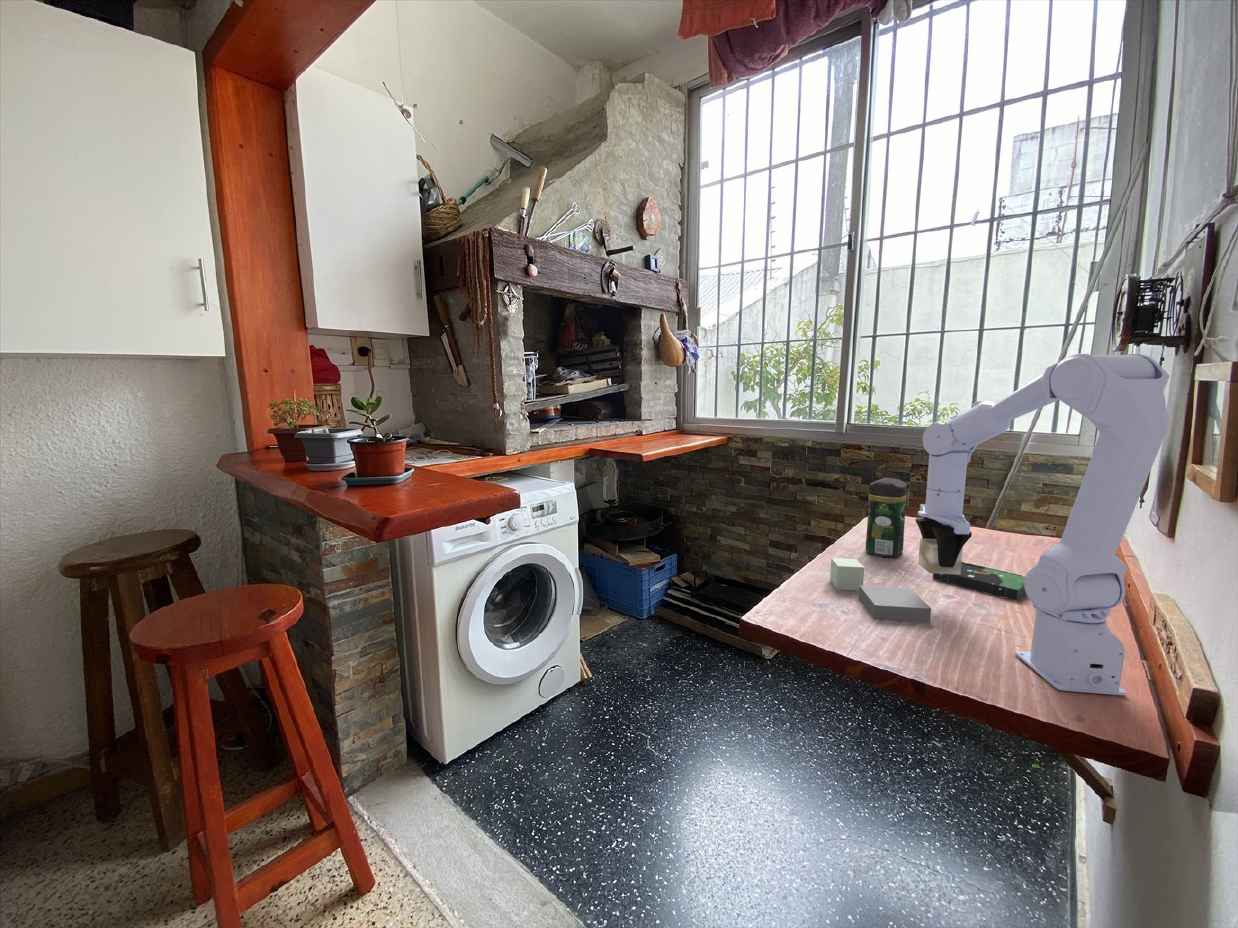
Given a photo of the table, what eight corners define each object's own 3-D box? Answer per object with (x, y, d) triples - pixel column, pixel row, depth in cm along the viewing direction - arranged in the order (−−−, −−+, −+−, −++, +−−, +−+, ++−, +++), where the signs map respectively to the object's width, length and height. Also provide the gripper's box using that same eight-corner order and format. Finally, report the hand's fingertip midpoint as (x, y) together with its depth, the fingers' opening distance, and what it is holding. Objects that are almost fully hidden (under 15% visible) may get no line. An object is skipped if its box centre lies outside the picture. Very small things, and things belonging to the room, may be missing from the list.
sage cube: (862, 591, 98) (864, 567, 97) (836, 589, 99) (837, 566, 98) (855, 581, 103) (856, 558, 102) (830, 580, 104) (831, 557, 103)
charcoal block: (929, 624, 84) (931, 608, 84) (873, 621, 86) (875, 605, 86) (909, 603, 93) (910, 588, 93) (858, 600, 95) (859, 585, 94)
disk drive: (931, 581, 104) (1018, 603, 92) (932, 569, 104) (1020, 589, 92) (949, 570, 110) (1033, 589, 99) (950, 558, 110) (1034, 576, 98)
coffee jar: (871, 544, 128) (876, 474, 125) (905, 550, 123) (911, 477, 120) (860, 553, 121) (865, 479, 118) (896, 560, 116) (902, 483, 113)
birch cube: (960, 574, 88) (962, 547, 87) (929, 573, 88) (932, 546, 88) (946, 565, 92) (949, 539, 92) (918, 563, 93) (920, 538, 93)
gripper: (905, 481, 96) (900, 548, 98) (939, 496, 82) (933, 574, 84) (944, 482, 95) (938, 549, 97) (986, 498, 81) (978, 576, 83)
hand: (939, 561), depth 90 cm, fingers closed on birch cube, 5 cm apart
